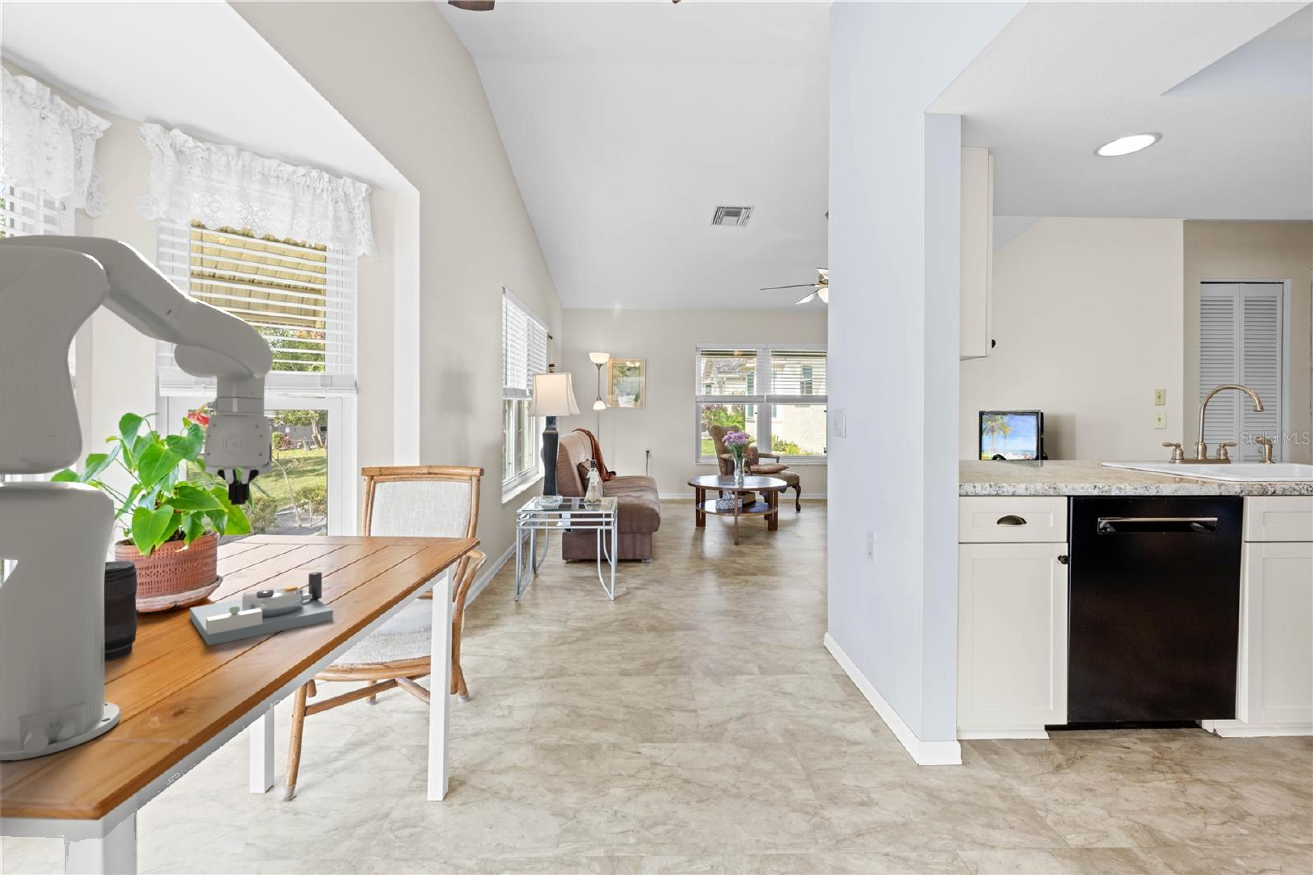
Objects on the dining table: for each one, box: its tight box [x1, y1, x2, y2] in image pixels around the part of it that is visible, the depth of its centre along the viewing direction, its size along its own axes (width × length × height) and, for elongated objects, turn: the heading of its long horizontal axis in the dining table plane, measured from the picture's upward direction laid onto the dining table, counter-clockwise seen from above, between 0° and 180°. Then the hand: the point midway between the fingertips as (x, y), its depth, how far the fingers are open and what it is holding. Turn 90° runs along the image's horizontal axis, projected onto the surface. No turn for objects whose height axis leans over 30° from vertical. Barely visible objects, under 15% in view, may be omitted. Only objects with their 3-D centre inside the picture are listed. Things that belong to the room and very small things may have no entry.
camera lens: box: [104, 560, 138, 662], centre depth 98 cm, size 8×8×15 cm
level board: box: [189, 588, 334, 646], centre depth 118 cm, size 20×20×6 cm
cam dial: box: [241, 571, 323, 617], centre depth 119 cm, size 15×10×5 cm
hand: (238, 504), depth 113 cm, fingers closed
